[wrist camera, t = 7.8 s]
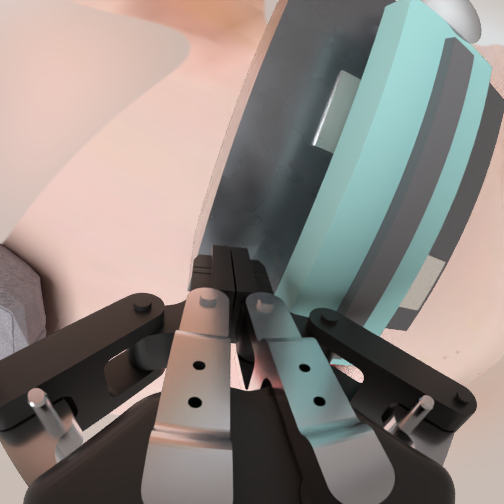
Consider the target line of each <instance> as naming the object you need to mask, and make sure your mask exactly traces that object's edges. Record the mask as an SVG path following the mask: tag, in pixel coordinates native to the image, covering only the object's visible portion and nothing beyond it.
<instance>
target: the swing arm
mask: <svg viewBox="0 0 504 504" xmlns="http://www.w3.org/2000/svg"><path fill="white" fill-rule="evenodd" d="M480 37H481V24H480V20H479V17H478V14H477V13H476V10H475V8H474V7H473V5H472V4H471V2H470V1H469V0H398V1H396V2H394V3H392V4H390V5H387V6H386V7H385V10H384V13H383V16H382V19H381V23H380V26H379V29H378V32H377V35H376V38H375V41H374V44H373V47H372V50H371V53H370V56H369V59H368V62H367V65H366V67H365V70H364V73H363V76H362V79H361V82H360V85H359V87H358V90H357V93H356V96H355V98H354V101H353V104H352V107H351V109H350V112H349V115H348V118H347V120H346V123H345V126H344V128H343V131H342V133H341V136H340V139H339V141H338V144H337V147H336V149H335V152H334V154H333V157H332V159H331V162H330V164H329V167H328V170H327V172H326V175H325V177H324V180H323V182H322V185H321V187H320V190H319V192H318V194H317V197H316V199H315V202H314V204H313V207H312V209H311V211H310V214H309V216H308V219H307V221H306V223H305V226H304V228H303V231H302V233H301V235H300V238H299V240H298V242H297V245H296V247H295V249H294V252H293V254H292V256H291V259H290V261H289V263H288V265H287V268H286V270H285V272H284V275H283V277H282V279H281V281H280V284H279V286H278V288H277V290H276V293H275V296H277V297H279V298H280V299H282V300H283V301H284V303H285V304H286V306H287V308H288V310H289V312H291V313H294V314H297V315H301V316H305V317H309V314H310V312H311V311H312V310H313V309H316V308H329V309H332V310H335V311H337V312H339V313H340V314H342V315H344V316H345V317H347V318H349V319H350V320H352V321H354V322H355V323H357V324H359V325H360V326H362V327H364V328H365V329H367V330H369V331H370V332H372V333H374V334H376V335H377V336H380V335H381V333H382V332H383V330H384V329H385V327H386V326H387V324H388V323H389V321H390V320H391V318H392V317H393V315H394V314H395V312H396V310H397V309H398V307H399V306H400V304H401V302H402V301H403V299H404V297H405V296H406V294H407V292H408V291H409V289H410V287H411V285H412V284H413V282H414V280H415V278H416V276H417V275H418V273H419V271H420V269H421V267H422V265H423V264H424V262H425V260H426V258H427V256H428V254H429V252H430V250H431V248H432V246H433V244H434V242H435V240H436V238H437V236H438V234H439V232H440V230H441V227H442V225H443V223H444V221H445V219H446V216H447V214H448V212H449V210H450V207H451V205H452V203H453V200H454V198H455V195H456V193H457V190H458V188H459V185H460V183H461V180H462V177H463V175H464V172H465V169H466V166H467V163H468V160H469V157H470V154H471V151H472V148H473V145H474V142H475V139H476V135H477V132H478V128H479V125H480V121H481V117H482V113H483V109H484V105H485V101H486V97H487V92H488V87H489V82H490V77H491V71H492V67H491V66H490V65H489V63H488V62H487V61H486V60H485V59H484V58H483V57H482V56H481V55H480V54H479V52H478V51H477V50H476V49H475V48H474V47H473V46H472V45H471V44H470V43H476V42H477V41H478V40H479V39H480ZM330 364H337V365H352V364H350V363H349V362H347V361H346V360H344V359H343V358H341V357H340V356H338V355H336V354H335V355H334V357H333V359H332V361H331V363H330Z"/></svg>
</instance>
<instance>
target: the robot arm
mask: <svg viewBox="0 0 504 504" xmlns="http://www.w3.org/2000/svg"><path fill="white" fill-rule="evenodd" d="M231 343H236V352H235V357H234V359H235V365H236V369H237V374H238V378H239V383H240V387H241V390H240V389H236V388H231V387H230V352H231ZM126 349H127V350H126ZM124 350H126V351H124ZM123 351H124V352H123ZM121 352H123V353H121ZM119 353H121V354H119ZM118 354H119V355H118ZM335 354H336V355H338V356H340V357H341V358H343V359H344V360H346V361H347V362H349V363H350V364H352V365H353V366H355V367H357V368H358V369H360V370H361V372H362V373H363V375H364V381H363V383H359V382H357V381H355V380H354V379H352V378H351V377H349V376H348V375H346V374H344V373H343V372H341V371H340V370H338V369H337V368H335V367H334V366H332V365H331V364H330V363H331V361H332V359H333V357H334V355H335ZM116 355H118V356H116ZM114 356H116V357H115V358H113V357H114ZM111 358H113V359H111ZM110 359H111V360H110ZM109 360H110V361H109ZM165 368H167V369H166V373H165V378H164V382H163V387H162V392H159V393H155V394H152V395H150V396H148V397H145V398H143V399H142V400H140V401H138V402H137V403H135V404H134V405H133V406H131V407H130V408H129V409H128V410H126V411H125V412H124V413H123V414H121V415H120V416H119V417H118V418H116V419H115V420H114V421H113V422H111V423H110V424H109V425H107V426H106V427H105V428H104V429H102V430H101V431H100V432H98V433H97V434H96V435H94V436H93V437H92V438H91V439H89V440H88V441H87V442H85V443H84V444H83V445H82V442H83V433H82V432H83V431H84V430H86V429H87V428H88V427H90V426H91V425H93V424H94V423H96V422H97V421H99V420H100V419H102V418H103V417H104V416H106V415H107V414H109V413H110V412H111V411H113V410H114V409H116V408H117V407H119V406H120V405H121V404H123V403H124V402H126V401H127V400H128V399H130V398H131V397H132V396H134V395H135V394H137V393H138V392H139V391H141V390H142V389H143V388H145V387H146V386H147V385H149V384H150V383H152V382H153V381H154V380H156V379H157V378H158V377H160V376H161V375H162V374H163V372H164V371H165ZM476 408H477V402H476V399H475V397H474V396H473V394H472V393H471V392H470V391H469V390H468V389H467V388H466V387H464V386H462V385H461V384H459V383H457V382H455V381H454V380H452V379H450V378H449V377H447V376H445V375H443V374H442V373H440V372H438V371H437V370H435V369H433V368H432V367H430V366H428V365H426V364H425V363H423V362H421V361H420V360H418V359H416V358H414V357H413V356H411V355H409V354H408V353H406V352H404V351H403V350H401V349H399V348H398V347H396V346H394V345H392V344H391V343H389V342H387V341H386V340H384V339H382V338H381V337H379V336H377V335H376V334H374V333H372V332H370V331H369V330H367V329H365V328H364V327H362V326H360V325H359V324H357V323H355V322H354V321H352V320H350V319H349V318H347V317H345V316H344V315H342V314H340V313H339V312H337V311H335V310H332V309H329V308H316V309H313V310H312V311H311V312H310V314H309V317H305V316H301V315H297V314H294V313H291V312H289V310H288V308H287V306H286V304H285V303H284V301H283V300H282V299H280V298H279V297H277V296H275V295H274V292H273V289H272V286H271V283H270V280H269V277H268V274H267V271H266V268H265V266H264V265H263V264H262V263H261V262H260V261H259V260H251V259H250V256H249V252H248V249H247V248H242V247H233V246H230V247H229V246H223V245H214V244H213V245H212V251H211V255H202V254H199V255H198V256H197V257H196V258H195V259H194V262H193V270H192V279H191V288H190V292H189V294H188V296H187V299H186V300H185V301H183V302H181V303H178V304H175V305H167V306H164V303H163V301H162V300H161V299H160V298H159V297H157V296H155V295H152V294H148V293H136V294H132V295H130V296H127V297H125V298H123V299H121V300H119V301H117V302H115V303H113V304H111V305H109V306H107V307H105V308H103V309H101V310H99V311H97V312H95V313H93V314H91V315H89V316H87V317H85V318H83V319H81V320H79V321H77V322H75V323H73V324H71V325H69V326H67V327H65V328H63V329H61V330H59V331H57V332H55V333H53V334H51V335H49V336H47V337H45V338H43V339H41V340H39V341H37V342H35V343H33V344H31V345H29V346H27V347H25V348H23V349H21V350H19V351H17V352H15V353H13V354H11V355H9V356H7V357H5V358H3V359H1V360H0V442H1V443H2V445H3V447H4V449H5V451H6V452H7V454H8V456H9V457H10V459H11V461H12V462H13V464H14V466H15V467H16V469H17V471H18V472H19V474H20V475H21V477H22V478H23V480H24V481H25V483H26V484H27V485H28V487H29V488H28V490H27V492H26V494H25V498H24V503H23V504H455V488H454V484H453V481H452V478H451V476H450V475H449V473H448V472H447V471H446V469H445V468H444V467H443V463H444V461H445V458H446V456H447V453H448V450H449V447H450V444H451V442H452V439H453V436H454V433H455V432H456V431H457V430H458V429H459V428H460V427H461V426H462V425H463V424H464V423H465V422H466V421H467V420H468V418H470V417H471V415H472V414H473V413H474V412H475V411H476Z"/></svg>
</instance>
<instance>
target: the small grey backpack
mask: <svg viewBox="0 0 504 504" xmlns="http://www.w3.org/2000/svg"><path fill="white" fill-rule="evenodd" d="M45 324H46V315H45V310H44V304H43V298H42V292H41V285H40V276H39V275H38V274H37V273H36V272H35V271H34V270H33V269H32V268H31V267H30V266H29V265H28V264H27V263H26V262H24V261H23V260H22V259H20V258H19V257H18V256H16V255H15V254H14V253H12V252H11V251H10V250H8V249H7V248H5V247H4V246H2V245H1V244H0V360H1V359H3V358H5V357H7V356H9V355H11V354H13V353H15V352H17V351H19V350H21V349H23V348H25V347H27V346H29V345H31V344H33V343H35V342H37V341H39V340H41V339H43V338H45V337H46V332H47V331H46V329H45Z"/></svg>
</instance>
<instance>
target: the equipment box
mask: <svg viewBox="0 0 504 504" xmlns="http://www.w3.org/2000/svg"><path fill="white" fill-rule="evenodd" d="M394 2H396V1H395V0H279V1H278V3H277V5H276V7H275V9H274V11H273V14H272V16H271V18H270V21H269V23H268V25H267V27H266V30H265V32H264V35H263V37H262V39H261V42H260V44H259V47H258V49H257V52H256V54H255V57H254V59H253V62H252V64H251V67H250V69H249V72H248V74H247V77H246V80H245V82H244V85H243V88H242V90H241V93H240V96H239V98H238V101H237V104H236V107H235V109H234V112H233V115H232V118H231V121H230V123H229V126H228V129H227V132H226V135H225V138H224V141H223V144H222V147H221V150H220V153H219V156H218V159H217V162H216V165H215V168H214V171H213V174H212V178H211V181H210V184H209V187H208V190H207V194H206V197H205V200H204V204H203V207H202V210H201V214H200V217H199V221H198V224H197V228H196V231H195V236H194V243H193V251H192V259H191V266H190V275H189V283H188V291H190V288H191V279H192V270H193V262H194V259H195V258H196V257H197V256H198V255H199V254H202V255H211V251H212V245H213V244H214V245H223V246H229V247H230V246H233V247H242V248H247V249H248V252H249V256H250V259H251V260H259V261H260V262H261V263H262V264H263V265H264V266H265V268H266V271H267V274H268V277H269V280H270V283H271V286H272V289H273V292H274V295H275V293H276V290H277V288H278V286H279V284H280V281H281V279H282V277H283V275H284V272H285V270H286V268H287V265H288V263H289V261H290V259H291V256H292V254H293V252H294V249H295V247H296V245H297V242H298V240H299V238H300V235H301V233H302V231H303V228H304V226H305V223H306V221H307V219H308V216H309V214H310V211H311V209H312V207H313V204H314V202H315V199H316V197H317V194H318V192H319V190H320V187H321V185H322V182H323V180H324V177H325V175H326V172H327V170H328V167H329V164H330V162H331V159H332V157H333V154H334V152H335V149H336V147H337V144H338V141H339V139H340V136H341V133H342V131H343V128H344V126H345V123H346V120H347V118H348V115H349V112H350V109H351V107H352V104H353V101H354V98H355V96H356V93H357V90H358V87H359V85H360V82H361V79H362V76H363V73H364V70H365V67H366V65H367V62H368V59H369V56H370V53H371V50H372V47H373V44H374V41H375V38H376V35H377V32H378V29H379V26H380V23H381V19H382V16H383V13H384V10H385V7H386V6H387V5H390V4H392V3H394ZM503 113H504V99H503V98H502V97H501V95H500V94H499V93H498V92H497V91H496V89H495V88H494V87H493V86H492V85H491V84H490V83H489V87H488V92H487V97H486V101H485V105H484V109H483V113H482V117H481V121H480V125H479V128H478V132H477V135H476V139H475V142H474V145H473V148H472V151H471V154H470V157H469V160H468V163H467V166H466V169H465V172H464V175H463V177H462V180H461V183H460V185H459V188H458V190H457V193H456V195H455V198H454V200H453V203H452V205H451V207H450V210H449V212H448V214H447V216H446V219H445V221H444V223H443V225H442V227H441V230H440V232H439V234H438V236H437V238H436V240H435V242H434V244H433V246H432V248H431V250H430V252H429V254H428V256H427V258H426V260H425V262H424V264H423V265H422V267H421V269H420V271H419V273H418V275H417V276H416V278H415V280H414V282H413V284H412V285H411V287H410V289H409V291H408V292H407V294H406V296H405V297H404V299H403V301H402V302H401V304H400V306H399V307H398V309H397V310H396V312H395V314H394V315H393V317H392V318H391V320H390V321H389V323H388V324H387V326H386V327H385V328H388V329H396V330H403V331H407V329H408V328H409V326H410V325H411V323H412V322H413V320H414V319H415V317H416V316H417V314H418V313H419V311H420V310H421V308H422V306H423V305H424V303H425V302H426V300H427V298H428V297H429V295H430V293H431V292H432V290H433V288H434V286H435V285H436V283H437V281H438V279H439V278H440V276H441V274H442V272H443V270H444V269H445V267H446V265H447V263H448V261H449V259H450V257H451V255H452V253H453V251H454V249H455V247H456V245H457V243H458V241H459V239H460V237H461V235H462V233H463V231H464V228H465V226H466V224H467V222H468V219H469V217H470V215H471V212H472V210H473V208H474V205H475V203H476V200H477V198H478V195H479V193H480V190H481V187H482V185H483V182H484V179H485V176H486V173H487V170H488V167H489V164H490V161H491V158H492V155H493V151H494V148H495V145H496V141H497V137H498V134H499V130H500V126H501V122H502V117H503Z"/></svg>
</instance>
